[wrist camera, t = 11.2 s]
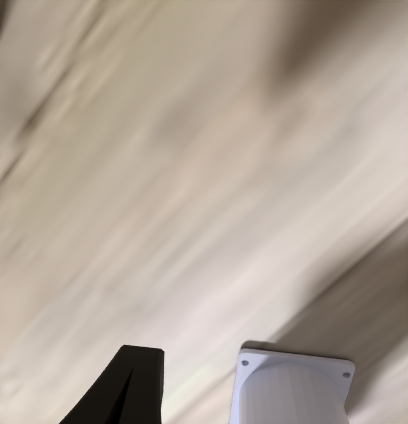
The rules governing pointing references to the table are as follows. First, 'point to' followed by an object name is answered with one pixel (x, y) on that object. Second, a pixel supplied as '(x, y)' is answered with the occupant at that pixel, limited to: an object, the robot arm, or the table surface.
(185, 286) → the table surface
